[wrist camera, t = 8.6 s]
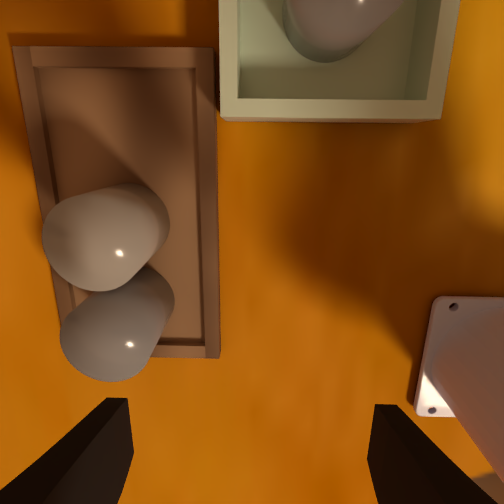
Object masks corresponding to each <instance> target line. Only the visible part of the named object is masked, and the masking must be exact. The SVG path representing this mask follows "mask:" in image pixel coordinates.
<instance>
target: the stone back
mask: <svg viewBox="0 0 504 504" xmlns="http://www.w3.org/2000/svg"><path fill="white" fill-rule="evenodd" d="M174 306H175V298H174V293H173V290H172V288H171V286H170V284H169V283H168V282H167V280H166V279H165V278H164V277H163V276H161V275H160V274H159V273H157V272H156V271H154V270H152V269H149V268H146V267H142V268H141V269H140V270H139V271H138V272H137V273H136V274H135V275H134V276H133V277H132V278H131V279H130V280H129V281H128V282H126V283H125V284H124V285H122V286H120V287H118V288H116V289H112V290H108V291H94V292H93V293H92V294H91V295H89V296H88V297H87V298H86V299H85V300H84V301H83V302H82V303H80V304H79V305H78V306H77V307H76V308H75V309H74V310H73V311H71V312H70V313H69V314H68V315H67V317H66V318H65V319H64V321H63V323H62V326H61V329H60V344H61V348H62V350H63V353H64V354H65V356H66V358H67V359H68V361H69V362H70V363H71V364H72V365H73V366H74V367H75V368H76V369H77V370H78V371H80V372H81V373H83V374H85V375H86V376H88V377H91V378H93V379H96V380H100V381H107V382H117V381H123V380H126V379H129V378H131V377H133V376H135V375H136V374H138V373H139V372H140V371H141V370H142V369H143V368H144V367H145V365H146V364H147V362H148V360H149V358H150V356H151V354H152V352H153V350H154V348H155V346H156V344H157V342H158V340H159V338H160V336H161V335H162V333H163V331H164V329H165V327H166V325H167V323H168V321H169V319H170V317H171V315H172V313H173V310H174Z"/></svg>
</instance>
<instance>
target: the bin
mask: <svg viewBox="0 0 504 504" xmlns="http://www.w3.org/2000/svg"><path fill="white" fill-rule="evenodd" d="M282 5H283V0H219V55H220V117H221V118H223V119H224V120H226V121H246V122H338V123H417V122H424V121H431V120H438V119H441V115H442V109H443V103H444V97H445V91H446V85H447V79H448V73H449V66H450V60H451V54H452V48H453V42H454V36H455V30H456V24H457V18H458V12H459V6H460V0H404V1H403V3H402V4H401V5H400V6H399V7H398V9H397V10H396V11H395V12H394V13H393V14H392V15H391V16H390V17H389V18H388V19H387V20H386V21H385V22H384V23H383V24H382V25H381V26H380V27H379V28H378V29H377V30H376V31H374V32H373V33H372V34H371V35H370V36H369V37H368V38H367V39H366V40H365V41H364V42H363V43H362V44H361V45H360V46H359V47H358V48H357V49H356V50H355V51H354V52H353V53H352V54H350V55H349V56H347V57H345V58H343V59H341V60H339V61H335V62H330V63H320V62H315V61H311V60H309V59H307V58H305V57H304V56H302V55H301V54H299V53H298V52H297V51H296V50H295V49H294V47H293V46H292V45H291V43H290V42H289V40H288V38H287V36H286V33H285V30H284V26H283V21H282Z"/></svg>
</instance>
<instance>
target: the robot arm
mask: <svg viewBox="0 0 504 504" xmlns="http://www.w3.org/2000/svg"><path fill="white" fill-rule="evenodd" d="M452 303H455V305H454V306H453V307H452V308H449V306H450V305H451V304H452ZM430 407H433V408H431V409H429V408H430ZM413 408H414V410H415V412H416V414H417V415H419V416H432V417H456V418H457V419H458V420H459V422H460V423H461V425H462V426H463V427H464V429H465V430H466V432H467V433H468V434H469V436H470V437H471V438H472V440H473V441H474V443H475V444H476V445H477V447H478V448H479V450H480V451H481V452H482V454H483V455H484V456H485V458H486V459H487V461H488V462H489V463H490V465H491V466H492V468H493V469H494V470H495V472H496V473H497V474H498V476H499V477H500V479H501V480H502V481H503V483H504V297H467V296H440V297H438V298H436V299H435V300H434V302H433V304H432V309H431V315H430V320H429V325H428V331H427V336H426V341H425V347H424V352H423V357H422V362H421V368H420V373H419V378H418V384H417V389H416V394H415V400H414V405H413ZM133 454H134V449H133V441H132V432H131V424H130V415H129V407H128V399H127V398H106V399H105V400H104V401H102V402H101V403H100V404H99V405H98V406H97V407H96V408H95V409H94V410H92V411H91V412H90V413H89V414H88V415H87V416H86V417H85V418H84V419H83V420H81V421H80V422H79V423H78V424H77V425H76V426H75V427H74V428H73V429H72V430H70V431H69V432H68V433H67V434H66V435H65V436H64V437H63V438H62V439H60V440H59V441H58V442H57V443H56V444H55V445H54V446H52V447H51V448H50V449H49V450H48V451H47V452H46V453H44V454H43V455H42V456H41V457H40V458H39V459H38V460H36V461H35V462H34V463H33V464H32V465H30V466H29V467H28V468H27V469H26V470H24V471H23V472H22V473H21V474H19V475H18V476H17V477H16V478H15V479H13V480H12V481H11V482H10V483H9V484H7V485H6V486H5V487H4V488H2V489H1V490H0V504H117V503H118V500H119V498H120V496H121V493H122V490H123V487H124V484H125V481H126V478H127V475H128V471H129V468H130V465H131V461H132V458H133ZM367 461H368V465H369V469H370V474H371V478H372V482H373V486H374V490H375V493H376V497H377V501H378V503H379V504H498V503H497V502H495V501H494V500H493V499H492V498H491V497H490V496H489V495H488V494H487V493H485V492H484V491H483V490H482V489H481V488H480V487H479V486H478V485H477V484H476V483H474V482H473V481H472V480H471V479H470V478H469V477H468V476H467V475H466V474H465V473H464V472H463V471H462V470H461V469H460V468H459V467H458V466H457V465H456V464H454V463H453V462H452V461H451V460H450V459H449V458H448V457H447V456H446V455H445V454H444V453H443V452H442V451H441V450H440V449H439V448H438V447H437V446H436V445H435V444H434V443H433V442H432V441H431V440H430V439H429V438H428V437H427V436H426V435H425V434H424V432H423V431H422V430H421V429H420V428H419V427H418V426H417V425H416V424H415V423H414V422H413V421H412V420H411V419H410V418H409V417H408V416H407V415H406V414H405V413H404V412H403V411H402V410H401V409H400V408H399V407H398V406H397V405H387V404H375V408H374V415H373V422H372V429H371V435H370V442H369V449H368V456H367Z"/></svg>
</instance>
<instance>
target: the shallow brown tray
mask: <svg viewBox="0 0 504 504" xmlns="http://www.w3.org/2000/svg"><path fill="white" fill-rule="evenodd" d="M12 50H13V55H14V61H15V67H16V72H17V78H18V84H19V89H20V95H21V101H22V106H23V112H24V118H25V123H26V129H27V135H28V140H29V146H30V152H31V157H32V163H33V169H34V174H35V180H36V186H37V191H38V197H39V203H40V208H41V214H42V220H43V224H44V221H45V219H46V217H47V215H48V214H49V212H50V211H51V210H52V209H53V208H54V206H56V205H57V204H58V203H60V202H61V201H63V200H65V199H67V198H70V197H73V196H77V195H81V194H84V193H88V192H91V191H95V190H99V189H102V188H106V187H109V186H113V185H117V184H121V183H135V184H139V185H142V186H145V187H147V188H149V189H150V190H152V191H153V192H154V193H155V194H157V195H158V196H159V198H160V199H161V200H162V201H163V203H164V204H165V206H166V208H167V211H168V214H169V218H170V230H169V234H168V237H167V239H166V241H165V243H164V244H163V245H162V247H161V248H160V249H159V250H158V251H157V252H156V253H155V254H154V255H153V256H152V257H151V258H150V259H149V260H148V261H147V262H146V263H145V264H144V265H143V267H146V268H149V269H152V270H154V271H156V272H157V273H159V274H160V275H161V276H163V277H164V278H165V279H166V280H167V282H168V283H169V284H170V286H171V288H172V290H173V293H174V298H175V306H174V310H173V313H172V315H171V317H170V319H169V321H168V323H167V325H166V327H165V329H164V331H163V333H162V335H161V336H160V338H159V340H158V342H157V344H156V346H155V348H154V350H153V352H152V354H151V356H150V357H170V358H215V359H219V357H220V352H221V336H220V282H219V228H218V174H217V120H216V66H215V51H214V48H213V47H89V46H12ZM50 265H51V264H50ZM51 271H52V276H53V282H54V288H55V293H56V299H57V305H58V310H59V316H60V322H61V326H62V323H63V321H64V319H65V318H66V317H67V315H68V314H69V313H70V312H71V311H73V310H74V309H75V308H76V307H77V306H78V305H79V304H80V303H82V302H83V301H84V300H85V299H86V298H87V297H88V296H89V295H91V294H92V293H93V292H94V291H90V290H85V289H82V288H79V287H77V286H75V285H73V284H71V283H69V282H68V281H66V280H65V279H64V278H62V277H61V276H60V275H59V274H58V273H57V272H56V271H55V270H54V268H53V267H52V266H51Z"/></svg>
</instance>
